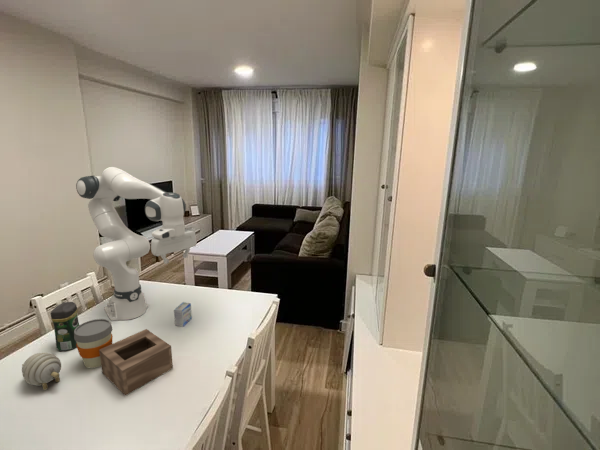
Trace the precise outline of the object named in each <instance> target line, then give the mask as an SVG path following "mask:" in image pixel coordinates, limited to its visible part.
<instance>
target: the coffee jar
mask: <svg viewBox="0 0 600 450" xmlns="http://www.w3.org/2000/svg"><path fill="white" fill-rule="evenodd" d="M78 315H79V314H78V308H77V304H76V302H74V301H63V302H62V303H60V304H58V305H57V306H55V308H53V309H52V310H51V311H50V319H51V321H52V325H53V329H54V335H55V336H54V337H55V345H56V350H57V351H60V352H61V351H62V352H63V351H64V352H65V351H70V350H73V349H75V348H77V346H76V344H77V342H76V341H75V339H74V330H75V329H76V327H78V326H79V325H80V321H79V316H78Z"/></svg>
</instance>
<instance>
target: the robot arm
mask: <svg viewBox="0 0 600 450" xmlns="http://www.w3.org/2000/svg"><path fill="white" fill-rule="evenodd" d="M75 187H76V188H75V189H76V191H77V192H76V193H77V194H78V196H79V197H81V198H83V199H89V200H90V201H89V202H88V203H87V208H88V211H89V214H90V217H91V219H92V221H93V223H94V225H95V226H96V229H97V231H98V233H99V234H100V235H101V236H102V237H103V238H106V239H110V240H113V241H109V242H104V243H102V244H100V245H98V246H96V247H95V249H94V250H93V255H92V256H93V259H94V262H95V263H96V264H97V265H99V266H100V267H103V268H105V269H106V270H108V271H109V273H110V274H111V275H112V279H113V284H114V287H113V295H112V296H110V297H109V299H108V302H107V303H106V306H105V307H104V311H105V313H106V315H107V317H108V318H109V321H127V320H133V319H136V318H139V317H141V316H143V315H144V314H145V313H146V311H147V309H148V308H149V307H150V305H149V304H148V303H147V302H146V298H145V297H146V296H145V293H144V292H142V286H141V284H140V274H139V271H138V270H137V268H136V267H133V266H128V265H127V262H129V261H132V260H137V259H139V258H141V257H144V256H145V255H147V254H149V252H150V251H151V254H152V255H153V256H156V257H159V256H160V257H161V258H162V260H163V264H164V265H165V264H169V263H170V262H169V260H170V259H169V258H167V255H169V254H171V253H174V252H179V251H182V250H184V252H183V253H182V257H183V259H187V258H189V252H190V250H191V248H192V247H196V246H197V244H198V243H197V242H198V241H197V237H196V235H197V234H196V229H195V228H194V227H192V226H188V227H185V225H186V224H185V220H184V214H185V213H186V210H187V204H186V201H185V200H184V199H183V198H182V196H181V195H180V194H179V193H176V192H171V191H169V192H167V191H166V190H163V189H161V188H159V187H158V186H156V185H153V184H151V183H148V182H146V181H143V180H141V179H140V178H137V177H135V176H134V175H131V174H130V173H129V172H127V171H125V170H123V169H121V168H118V167H116V166H109V167H107V168H105V169H104V170H103V171H102V172H101V175H87V176H83V177H80V178H78V179H77V182H76V184H75ZM121 198H123V199H126V200H137V199H138V200H139V199H143V200H145V199H147V200H148V201H147V202H146V204H145V206H144V214H145V216H146V218H147V219H149V220H150V221H152V222H159V221H160V222H162V226H160V227H158V228H157V229H155V230H154V231H152V232H151V236H152V237H153V238H152V239H151V241H149V239H148V238H147V237H146V236H143V235H140V234H137V233H135V232H133V231H132V230H131V229H130V228H128V227H127V226H126V225H125V223H124V222H123V220H122V219H121V217H120V215H119V213H118V211H117V210H116V208H115V206H114V202H118V201H119V200H120V199H121Z"/></svg>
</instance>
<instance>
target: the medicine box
mask: <svg viewBox="0 0 600 450" xmlns="http://www.w3.org/2000/svg"><path fill="white" fill-rule="evenodd" d="M173 314H174V326H176V327H185V326H186V325H187V324H188V322H190V321H191V320H192V318H193V316H192V303H190V302H187V301H186V302H185V301H183V302H181V303H180V304H179V305H178V306H176V308H174V309H173Z"/></svg>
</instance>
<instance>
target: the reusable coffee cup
mask: <svg viewBox="0 0 600 450" xmlns="http://www.w3.org/2000/svg"><path fill="white" fill-rule="evenodd" d="M112 332H113V326H112V322H111V320H110V319H107V318H97V319H95V318H94V319H92V320H88V321H85V322H82V323H80V324H79V326H78V327H76V329H75V330H74V339H75V341H76V342H77V344H76V349H77V352H78V354H79V357H81V359H82V362H83V365H84V367H85V368H88V369H96V368H101V360H100V353H99V350H100V349H102V348H104V347H107V346H109V345H111V344H113V334H112Z"/></svg>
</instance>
